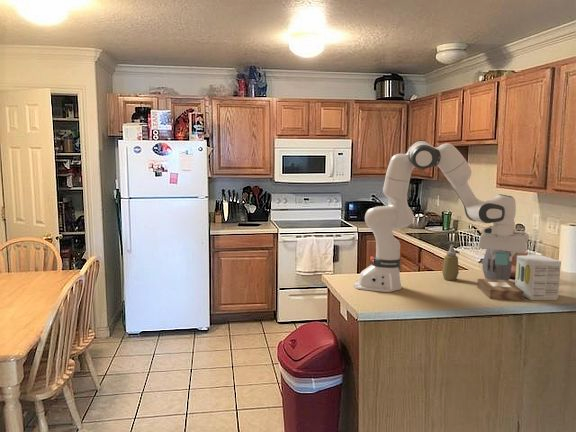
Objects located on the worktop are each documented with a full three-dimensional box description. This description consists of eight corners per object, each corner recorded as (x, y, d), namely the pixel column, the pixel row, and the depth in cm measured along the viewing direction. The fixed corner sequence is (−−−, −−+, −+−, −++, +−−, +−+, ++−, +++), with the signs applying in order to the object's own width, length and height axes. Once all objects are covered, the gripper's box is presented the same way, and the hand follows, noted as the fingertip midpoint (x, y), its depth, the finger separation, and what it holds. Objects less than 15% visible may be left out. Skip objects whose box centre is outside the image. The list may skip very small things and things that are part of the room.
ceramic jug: (536, 278, 248) (538, 251, 246) (521, 281, 240) (523, 254, 238) (503, 271, 263) (505, 246, 261) (488, 274, 254) (490, 248, 253)
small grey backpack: (513, 284, 234) (516, 244, 232) (502, 286, 230) (505, 246, 228) (488, 277, 247) (491, 240, 245) (477, 279, 244) (479, 241, 241)
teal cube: (494, 263, 215) (495, 253, 214) (496, 262, 219) (496, 251, 218) (507, 265, 212) (507, 254, 212) (508, 263, 217) (508, 252, 216)
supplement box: (513, 292, 220) (516, 255, 218) (540, 291, 222) (542, 255, 220) (530, 300, 207) (533, 261, 205) (558, 300, 209) (562, 261, 207)
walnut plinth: (489, 298, 209) (490, 289, 208) (477, 286, 228) (477, 278, 228) (523, 300, 207) (523, 291, 207) (507, 288, 227) (508, 279, 226)
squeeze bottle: (442, 280, 239) (444, 245, 237) (441, 276, 247) (443, 243, 245) (459, 281, 237) (461, 246, 235) (457, 278, 245) (459, 243, 243)
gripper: (530, 231, 210) (528, 262, 212) (482, 227, 222) (480, 256, 224) (527, 233, 205) (525, 264, 207) (478, 228, 217) (476, 258, 219)
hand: (501, 260), depth 215 cm, fingers closed on teal cube, 5 cm apart
